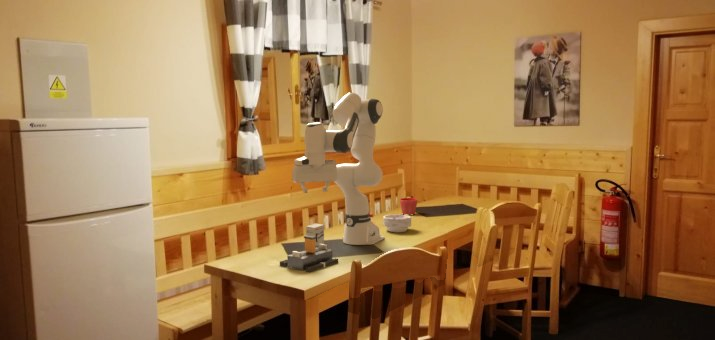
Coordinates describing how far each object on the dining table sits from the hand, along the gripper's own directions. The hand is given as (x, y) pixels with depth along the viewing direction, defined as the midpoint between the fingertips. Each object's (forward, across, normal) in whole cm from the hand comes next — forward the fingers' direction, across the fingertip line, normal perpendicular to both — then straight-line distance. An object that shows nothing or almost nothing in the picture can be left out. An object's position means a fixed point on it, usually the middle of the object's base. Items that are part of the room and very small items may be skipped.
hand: (315, 192), depth 236 cm
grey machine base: (+30, +5, +5) cm, 31 cm away
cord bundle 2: (+30, +2, +12) cm, 32 cm away
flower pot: (+27, -95, -66) cm, 119 cm away
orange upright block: (+24, +5, +5) cm, 25 cm away
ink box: (+30, -7, -16) cm, 34 cm away
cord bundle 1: (+30, +8, -2) cm, 31 cm away
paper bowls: (+28, -63, -31) cm, 75 cm away
